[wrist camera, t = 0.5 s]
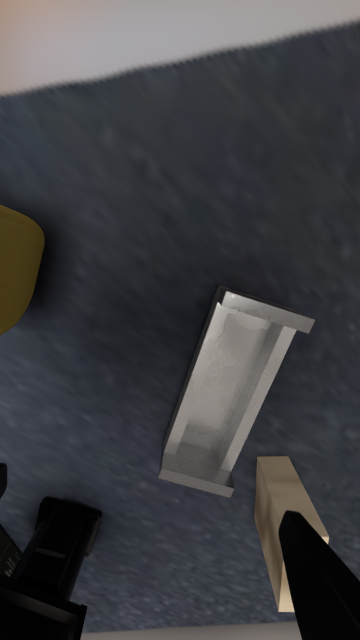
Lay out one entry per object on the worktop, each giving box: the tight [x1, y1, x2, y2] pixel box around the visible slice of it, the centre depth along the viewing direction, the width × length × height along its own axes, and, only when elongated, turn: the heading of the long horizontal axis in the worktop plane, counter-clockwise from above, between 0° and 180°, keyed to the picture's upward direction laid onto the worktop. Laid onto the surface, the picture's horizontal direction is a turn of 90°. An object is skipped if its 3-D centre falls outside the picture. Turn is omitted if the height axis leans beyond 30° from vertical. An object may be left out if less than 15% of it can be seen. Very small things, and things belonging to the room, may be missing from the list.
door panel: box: [255, 456, 329, 612], centre depth 21 cm, size 8×3×7 cm, turn 3°
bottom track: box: [158, 285, 315, 498], centre depth 19 cm, size 16×6×4 cm, turn 163°
